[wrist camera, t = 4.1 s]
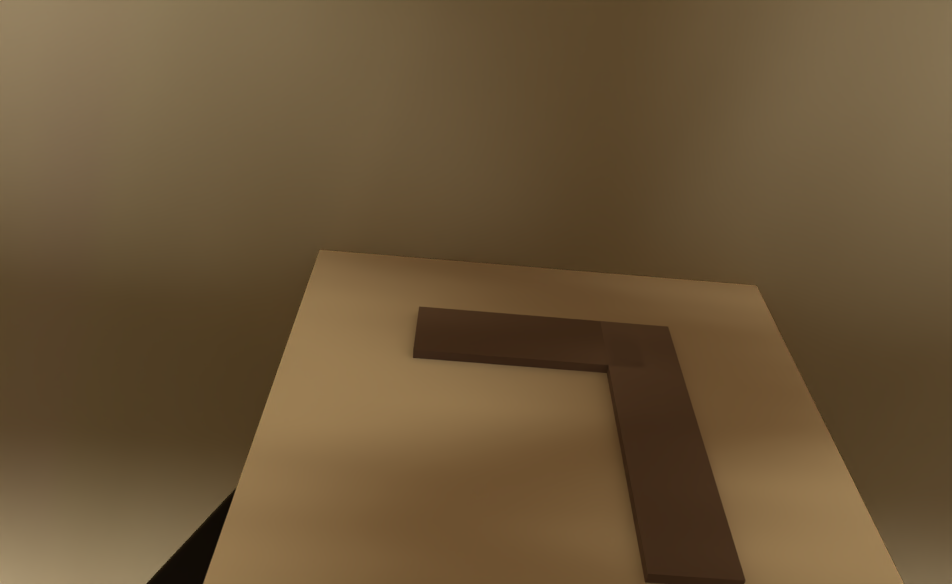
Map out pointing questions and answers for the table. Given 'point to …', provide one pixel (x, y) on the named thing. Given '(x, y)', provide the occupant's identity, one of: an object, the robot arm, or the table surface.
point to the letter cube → (539, 437)
